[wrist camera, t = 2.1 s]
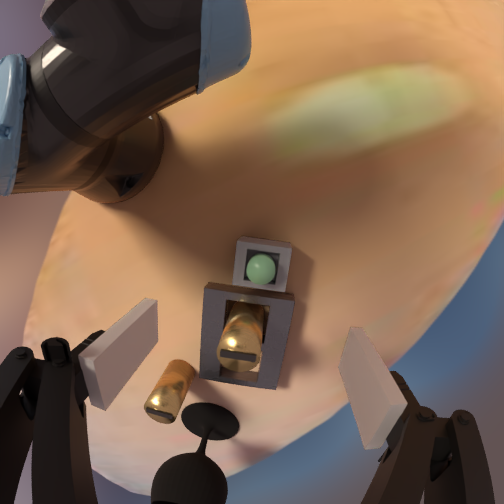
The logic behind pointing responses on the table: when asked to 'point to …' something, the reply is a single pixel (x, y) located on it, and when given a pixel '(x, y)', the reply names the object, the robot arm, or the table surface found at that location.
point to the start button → (261, 269)
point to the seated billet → (242, 337)
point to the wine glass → (196, 461)
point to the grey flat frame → (271, 341)
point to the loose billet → (170, 392)
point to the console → (271, 247)
